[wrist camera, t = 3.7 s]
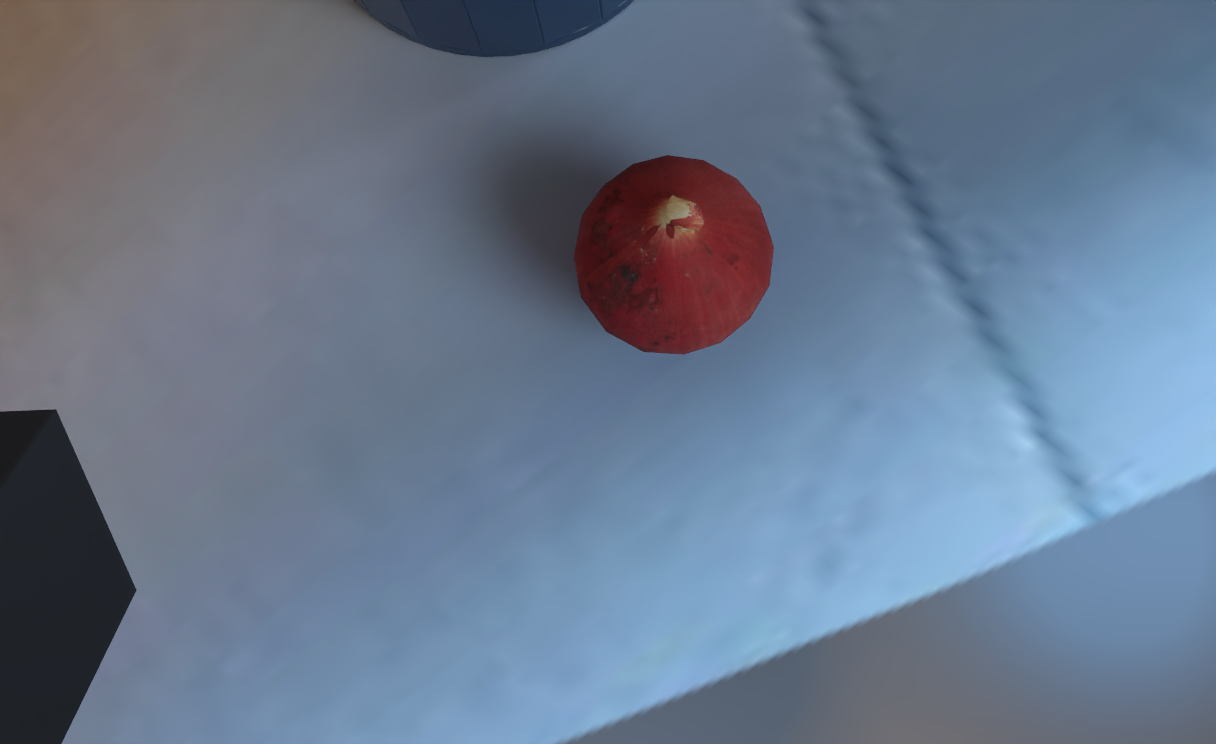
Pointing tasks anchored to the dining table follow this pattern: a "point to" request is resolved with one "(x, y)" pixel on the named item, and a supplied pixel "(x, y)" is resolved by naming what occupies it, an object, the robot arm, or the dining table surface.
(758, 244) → the onion
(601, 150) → the dining table surface
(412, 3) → the pot
